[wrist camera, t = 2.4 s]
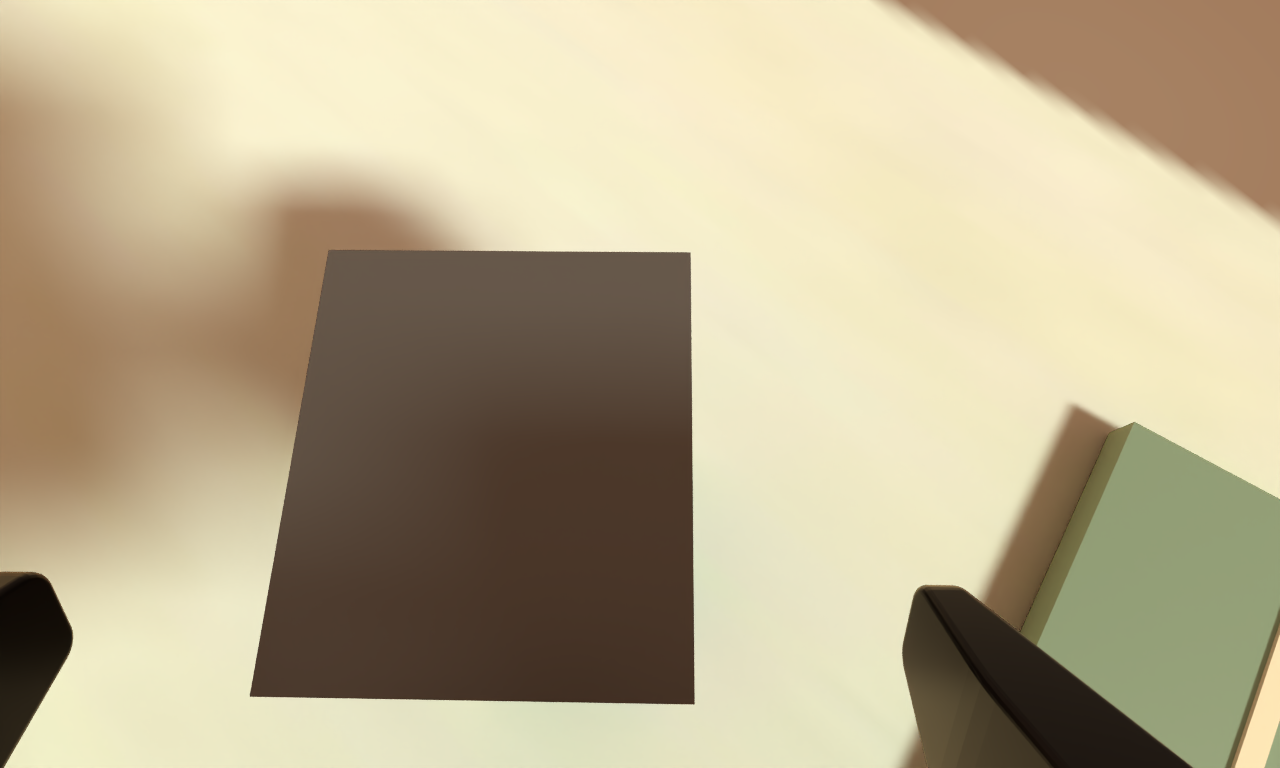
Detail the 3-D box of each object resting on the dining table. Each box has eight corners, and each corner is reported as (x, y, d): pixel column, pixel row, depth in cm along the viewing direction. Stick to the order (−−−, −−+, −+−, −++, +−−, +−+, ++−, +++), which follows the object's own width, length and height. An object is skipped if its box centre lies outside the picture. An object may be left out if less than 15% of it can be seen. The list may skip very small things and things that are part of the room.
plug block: (669, 663, 16) (694, 704, 7) (478, 660, 17) (249, 697, 7) (669, 451, 18) (690, 252, 9) (495, 448, 18) (328, 250, 9)
